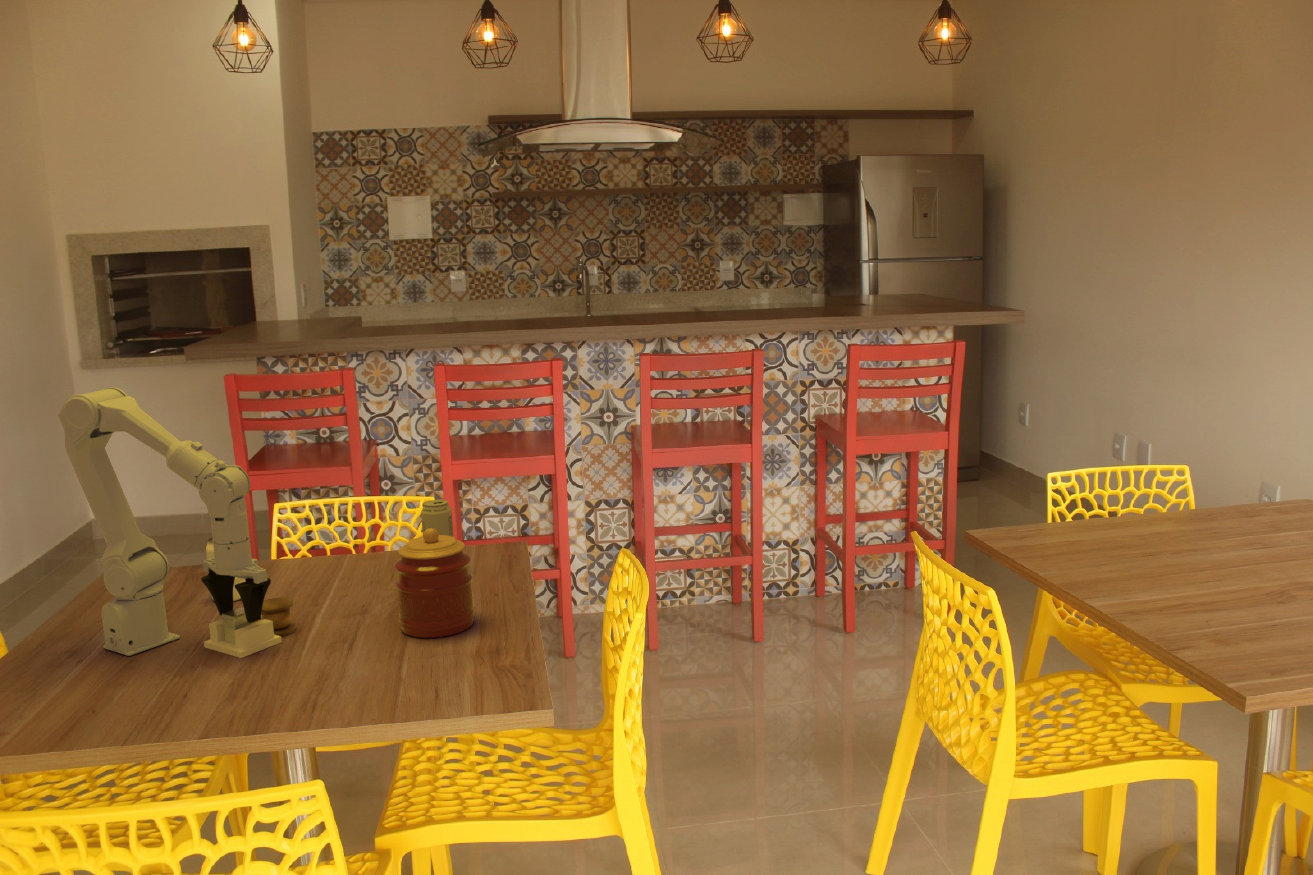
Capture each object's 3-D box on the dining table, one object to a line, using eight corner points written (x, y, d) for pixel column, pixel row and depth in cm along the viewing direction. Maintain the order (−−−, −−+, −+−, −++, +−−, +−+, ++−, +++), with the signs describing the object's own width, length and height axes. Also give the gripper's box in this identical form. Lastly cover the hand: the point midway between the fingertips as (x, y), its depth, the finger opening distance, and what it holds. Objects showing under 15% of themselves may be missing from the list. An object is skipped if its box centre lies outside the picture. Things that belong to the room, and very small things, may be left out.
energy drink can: (424, 571, 216) (419, 500, 214) (454, 568, 218) (449, 497, 215) (427, 580, 211) (421, 507, 208) (457, 576, 212) (452, 504, 210)
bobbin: (274, 640, 181) (271, 611, 180) (252, 634, 184) (249, 605, 183) (303, 628, 186) (300, 600, 185) (281, 623, 189) (278, 595, 188)
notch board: (240, 658, 173) (238, 635, 173) (204, 647, 179) (201, 624, 178) (281, 642, 180) (279, 619, 179) (245, 632, 185) (242, 610, 185)
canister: (401, 643, 177) (392, 542, 174) (398, 618, 189) (390, 523, 186) (479, 633, 180) (471, 534, 177) (471, 609, 193) (464, 515, 190)
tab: (259, 636, 180) (256, 608, 179) (236, 645, 176) (233, 616, 176) (248, 633, 182) (245, 605, 181) (225, 642, 178) (222, 613, 177)
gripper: (279, 539, 175) (287, 616, 178) (225, 529, 183) (234, 603, 186) (242, 550, 170) (251, 630, 172) (188, 539, 177) (198, 615, 180)
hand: (240, 617), depth 178 cm, fingers open, 7 cm apart
